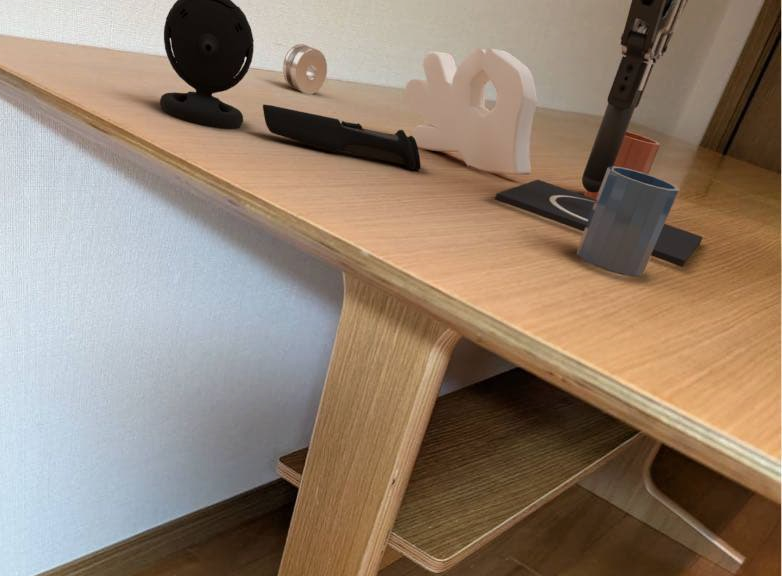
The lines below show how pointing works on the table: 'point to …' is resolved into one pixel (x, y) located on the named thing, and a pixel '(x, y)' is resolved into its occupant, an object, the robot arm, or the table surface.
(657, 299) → the table surface
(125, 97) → the table surface
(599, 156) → the rod
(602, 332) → the table surface
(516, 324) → the table surface
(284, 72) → the metal grooved wheel
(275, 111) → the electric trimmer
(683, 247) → the drawing pad
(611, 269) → the pen cup
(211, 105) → the webcam
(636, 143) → the pen pot
